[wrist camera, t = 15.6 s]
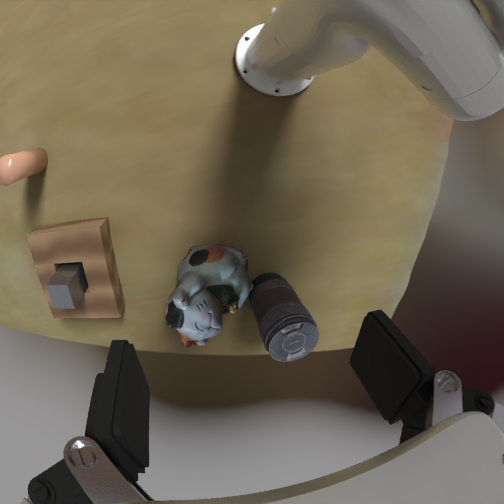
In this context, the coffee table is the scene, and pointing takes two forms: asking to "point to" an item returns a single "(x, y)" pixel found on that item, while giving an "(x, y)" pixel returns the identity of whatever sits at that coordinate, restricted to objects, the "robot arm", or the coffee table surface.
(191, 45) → the coffee table surface
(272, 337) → the camera lens
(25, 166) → the round bit
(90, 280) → the bore block
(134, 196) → the coffee table surface
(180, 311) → the lucky cat figurine
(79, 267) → the square bit
